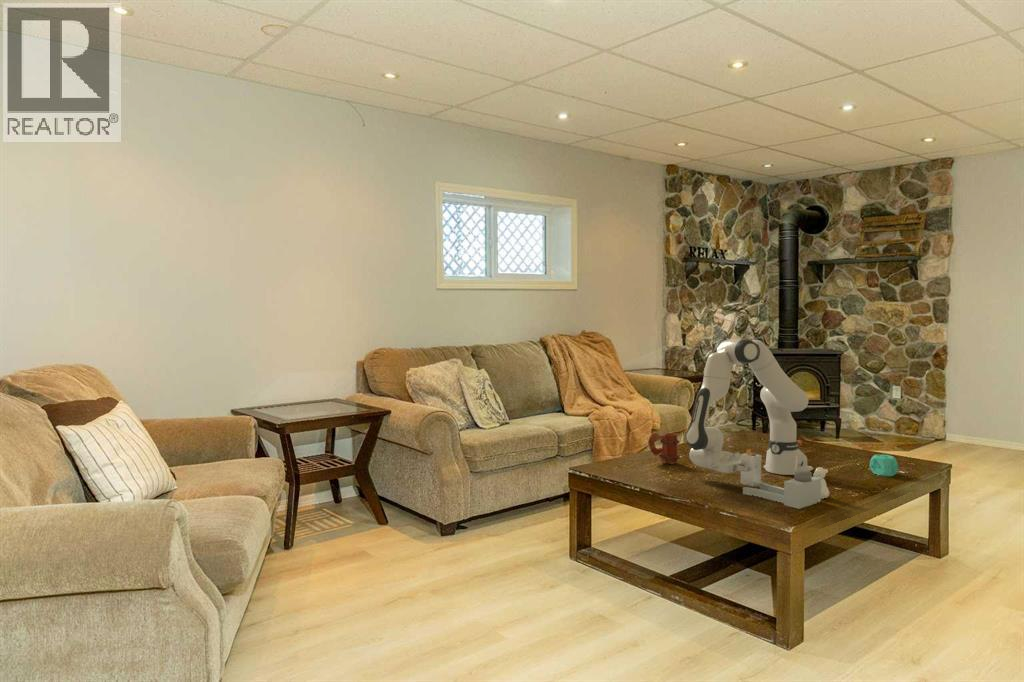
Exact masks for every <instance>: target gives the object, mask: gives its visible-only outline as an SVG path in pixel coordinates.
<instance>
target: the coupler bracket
mask: <svg viewBox="0 0 1024 682" xmlns="http://www.w3.org/2000/svg"><path fill="white" fill-rule="evenodd" d="M812 475H813V473H812V472H811V471H805V470H796V471H794V475H793V476H794V478H792V479H789V480H785V481H784V483H783V484H784V486H783V487H781V486H776V485H773V484H769V483H766V482H764V481H761V485H759V488H754V487H747V486H744V487H742V495H745V494H746V496H752V495H753V496H752V497H757V496H758V498H761V497H762V499H765V500H769V501H773V502H776V501H777V503H780V502H781V504H783V505H784V506H785V507H790V508H794V509H798V510H800V509H803V508H806V507H810V506H812V505H815V504H818V503H821V502H820V501H822V499H821V478H817V477H814V476H812ZM817 502H818V503H817Z"/></svg>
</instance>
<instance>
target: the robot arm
mask: <svg viewBox="0 0 1024 682" xmlns="http://www.w3.org/2000/svg"><path fill="white" fill-rule="evenodd" d="M741 364H742V365H743V364H745V365H747V364H748V366H749V368H750V369H751V372H752V373H753V375H754V376H755V377H756V379H757V381H758V382H759V384H760V385H762V386H763V387H762V388H761V390H760V393H759V394H760V396H759V397H760V399H761V402H762V403H763V404H764V407H765V408H766V413H767V415H768V420H769V439H768V449H767V450H766V456H765V458H766V459H765V464H763V468H764V469H765V471H766V472H769V473H772V474H776V475H786V476H794V471H796V470H805V471H810V472H811V471H813V470H814V467H813V466H811V465H808V457H807V456H806V455H805V454H804V453H803V452H802V450H800V446H802V440H799V439H798V440H797V431H798V429H797V425H798V424H797V423H796V421H795V419H794V418H793V416H792V413H794V412H795V413H796V412H802V411H803V410H805V409H806V408H807V407H808V405H809V395H808V394H807V392H806V391H804V390H803V389H801V388H800V387H799V386H798V385H797V384H796V383H795V382H794V381H792V379H791V378H790V377H789V376H788V375H787V374H786V373H785V371H784V370H783V368H782V367H781V366H780V364H779V362H778V361H777V359H776V358H775V356H774V355H773V353H772V352H771V350H770V349H769V347H768V346H767V344H765V343H764V341H762V340H759V339H753V340H751V339H748V338H731V339H730V338H729V339H723V340H720V341H718V342H717V343H716V345H715V346H714V348H713V352H711V353H710V354H709V355H708V357H707V359H706V362H705V366H704V373H703V379H702V384H701V387H700V389H699V390H698V391H697V394H696V397H695V401H694V404H693V409H692V414H691V418H690V422H689V425H688V428H687V429H686V432H685V442H686V444H687V445H688V447H689V448H690V450H689V459H690V461H691V462H692V464H694V465H695V466H697V467H700V468H703V469H708V470H713V471H715V472H719V473H723V474H732V473H737V472H741V471H744V472H748V471H749V467H746V466H745V467H744V466H741V453H739V452H738V451H726V450H725V451H724V450H723V449H724V448H723V447H724V445H725V444H724V443H725V435H724V432H723V431H722V429H721V428H719V427H717V426H706V422H707V417H708V415H709V413H708V412H709V409H710V406H712V404H713V403H714V402H716V401H718V400H720V399H722V398H724V397H725V396H726V395H727V394H728V392H729V389H730V383H731V373H732V368H733V366H734V365H741Z"/></svg>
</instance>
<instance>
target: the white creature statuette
mask: <svg viewBox="0 0 1024 682" xmlns="http://www.w3.org/2000/svg"><path fill="white" fill-rule="evenodd" d="M828 472H829V469H827V468H826V469H824V468H823V467H821V466H818V467H816V469H815V471H814V473H812V475H813V476H812V477H817V478H821V500H825V499H824V498H826V499H828V497H829V496H830V490H829V488H828V486H827V481H826V480H825V477H826V475H827V473H828Z"/></svg>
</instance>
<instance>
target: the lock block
mask: <svg viewBox="0 0 1024 682" xmlns="http://www.w3.org/2000/svg"><path fill="white" fill-rule="evenodd" d="M740 455H741V466H744V467H745V466H746V467H749V471H748V472H744V471H740V484H742V485H746V486H750V487H752V488H754V487H757V486H760V485H761V482H762V454H756V453H752V449H750V448H749V449H746V453H745V452H744V453H740Z"/></svg>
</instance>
